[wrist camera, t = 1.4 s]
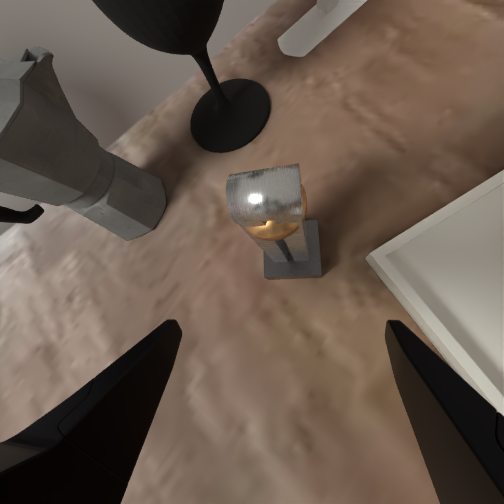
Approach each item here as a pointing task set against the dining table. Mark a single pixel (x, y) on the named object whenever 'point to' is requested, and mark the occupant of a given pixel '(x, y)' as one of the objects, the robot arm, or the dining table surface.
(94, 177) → the coffeepot
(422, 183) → the dining table surface
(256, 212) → the silver cylinder with base
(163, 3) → the wine glass
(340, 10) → the heart sculpture
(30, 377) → the dining table surface
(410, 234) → the ceramic tray
